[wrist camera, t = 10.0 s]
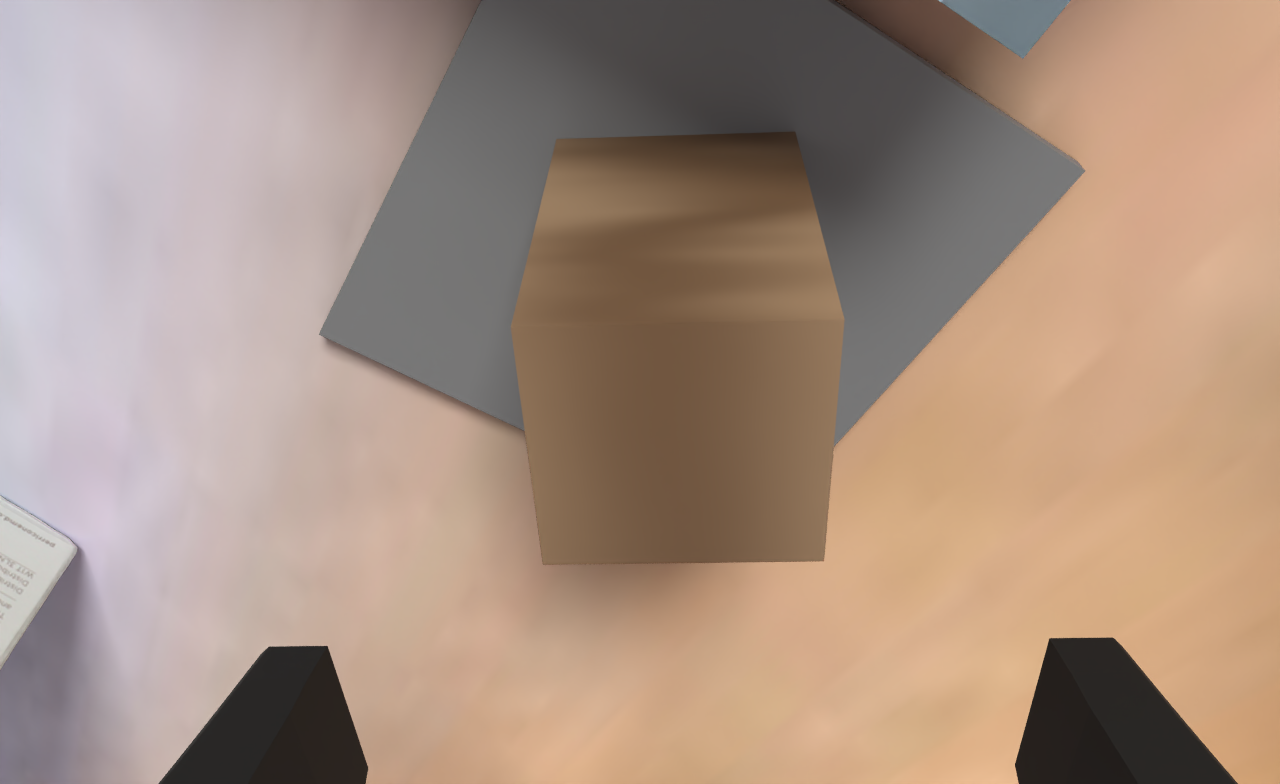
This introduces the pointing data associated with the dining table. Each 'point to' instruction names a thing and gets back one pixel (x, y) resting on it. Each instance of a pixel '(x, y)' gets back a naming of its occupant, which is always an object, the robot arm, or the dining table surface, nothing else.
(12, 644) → the supplement box
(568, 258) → the walnut block
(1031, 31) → the bay
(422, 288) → the mat
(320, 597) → the dining table surface
